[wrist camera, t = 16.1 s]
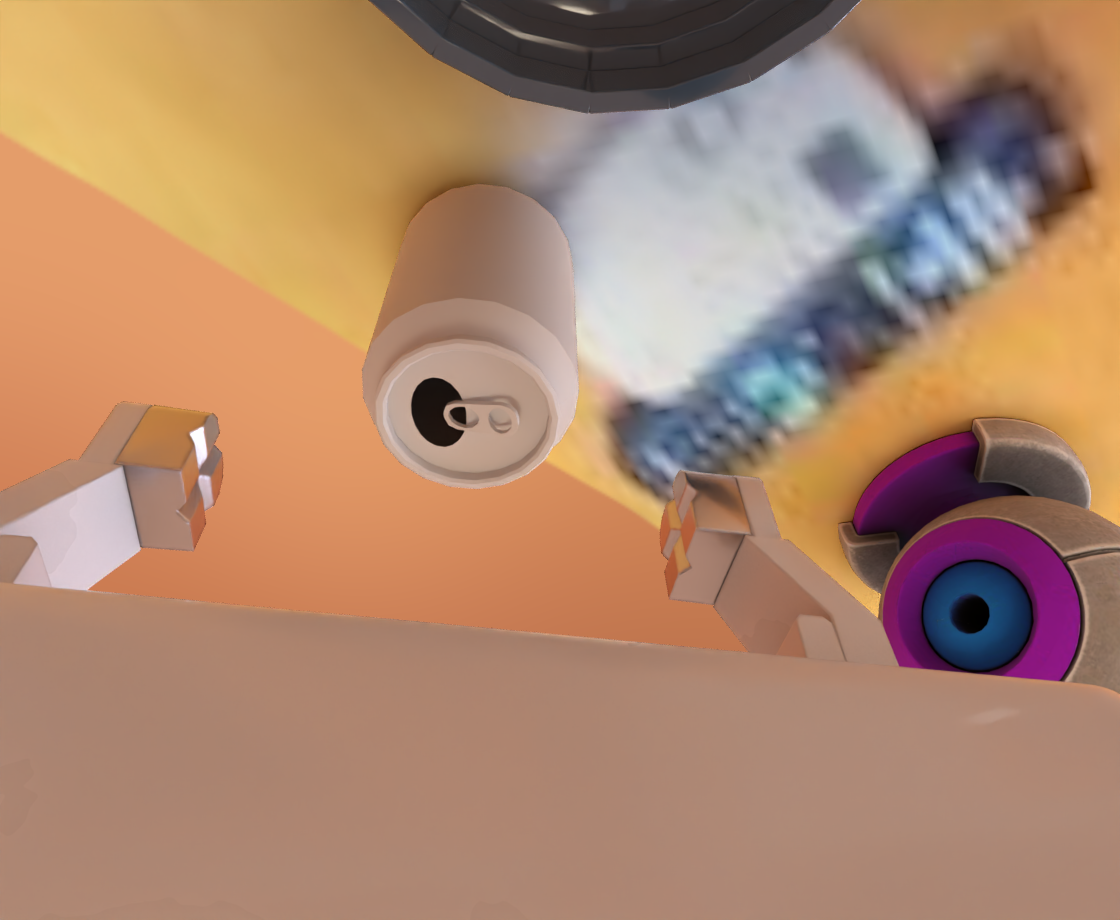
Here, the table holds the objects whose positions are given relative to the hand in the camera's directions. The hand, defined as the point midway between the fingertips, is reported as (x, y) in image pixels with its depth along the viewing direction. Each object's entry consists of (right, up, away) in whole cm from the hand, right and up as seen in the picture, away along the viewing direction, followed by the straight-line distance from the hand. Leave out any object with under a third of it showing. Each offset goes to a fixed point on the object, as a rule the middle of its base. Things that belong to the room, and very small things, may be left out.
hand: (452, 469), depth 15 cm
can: (-1, +9, +22) cm, 24 cm away
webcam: (+24, -3, +32) cm, 40 cm away
